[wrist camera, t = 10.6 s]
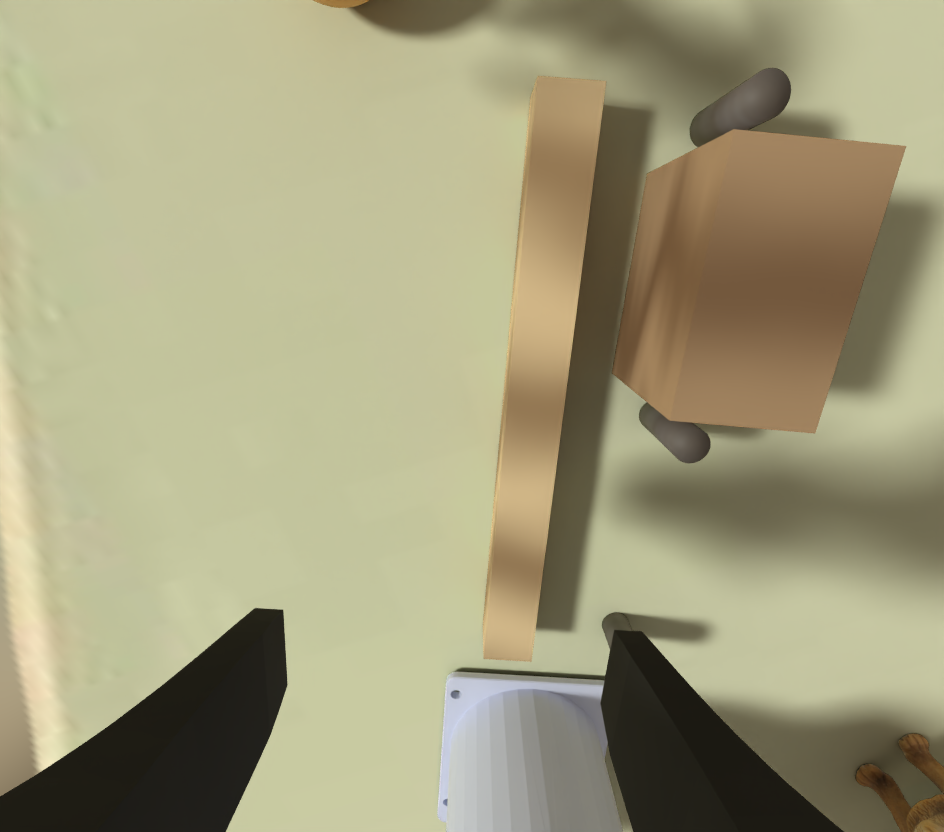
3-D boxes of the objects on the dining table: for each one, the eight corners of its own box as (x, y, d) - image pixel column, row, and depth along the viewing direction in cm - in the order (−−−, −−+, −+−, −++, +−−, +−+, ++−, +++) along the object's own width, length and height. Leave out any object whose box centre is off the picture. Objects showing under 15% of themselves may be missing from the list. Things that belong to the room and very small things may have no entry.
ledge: (626, 635, 22) (652, 700, 19) (482, 626, 22) (484, 690, 19) (729, 109, 16) (795, 69, 13) (530, 94, 16) (545, 50, 13)
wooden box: (714, 381, 19) (817, 433, 13) (611, 372, 19) (669, 420, 13) (762, 185, 17) (908, 146, 11) (646, 173, 17) (733, 129, 11)
